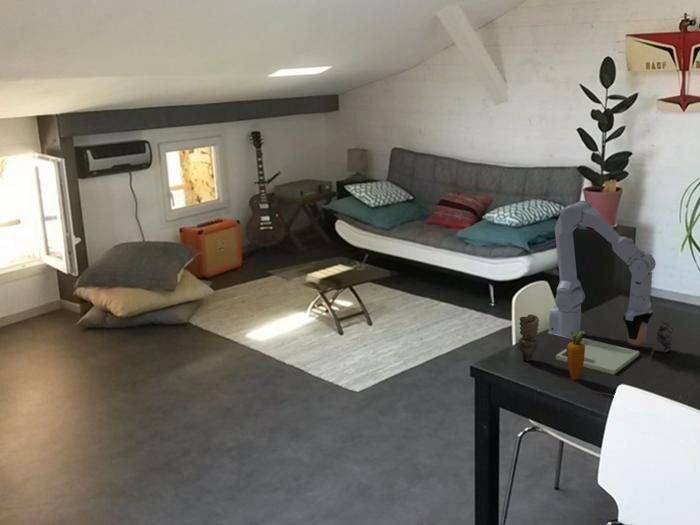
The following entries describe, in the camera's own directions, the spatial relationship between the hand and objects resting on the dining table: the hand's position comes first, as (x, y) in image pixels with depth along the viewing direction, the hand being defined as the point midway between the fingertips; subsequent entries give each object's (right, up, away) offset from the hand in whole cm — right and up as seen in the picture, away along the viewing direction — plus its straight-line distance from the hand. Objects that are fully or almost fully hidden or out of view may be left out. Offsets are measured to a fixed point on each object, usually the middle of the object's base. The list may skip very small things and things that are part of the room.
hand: (636, 336), depth 223 cm
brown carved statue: (-35, -7, -5) cm, 36 cm away
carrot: (-25, -11, -19) cm, 33 cm away
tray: (-14, -6, -5) cm, 16 cm away
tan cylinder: (0, -2, 0) cm, 2 cm away
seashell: (+8, -5, -1) cm, 9 cm away
